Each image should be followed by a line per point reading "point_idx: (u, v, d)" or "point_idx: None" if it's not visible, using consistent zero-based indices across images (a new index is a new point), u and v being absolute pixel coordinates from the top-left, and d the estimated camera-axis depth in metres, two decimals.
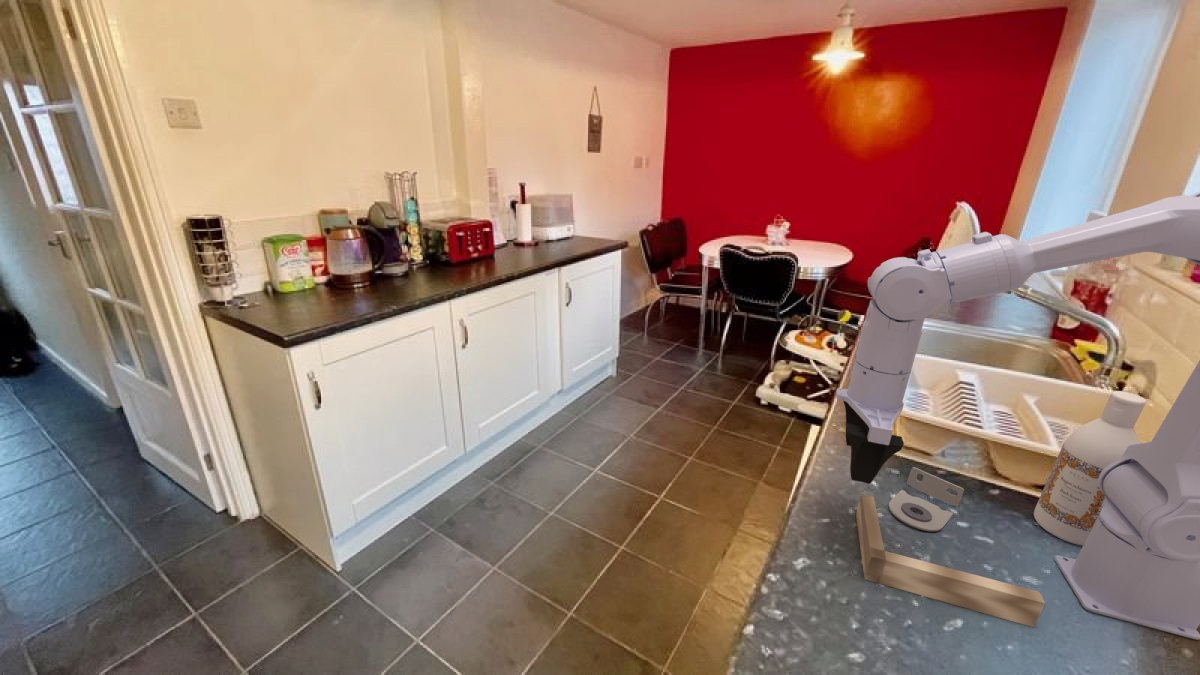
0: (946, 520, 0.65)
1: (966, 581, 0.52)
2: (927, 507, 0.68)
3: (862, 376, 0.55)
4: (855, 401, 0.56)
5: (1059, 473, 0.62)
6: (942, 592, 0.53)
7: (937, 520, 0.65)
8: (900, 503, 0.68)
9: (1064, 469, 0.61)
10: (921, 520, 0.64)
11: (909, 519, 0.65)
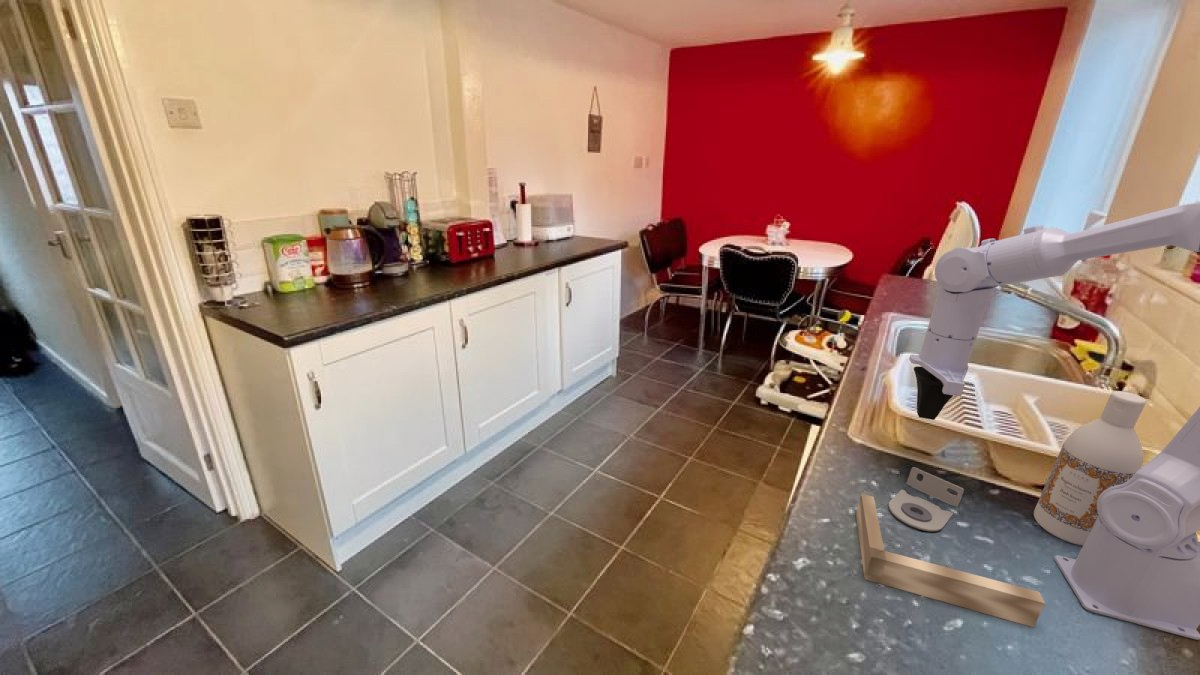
0: (946, 520, 0.65)
1: (966, 581, 0.52)
2: (927, 507, 0.68)
3: (936, 342, 0.67)
4: (928, 363, 0.68)
5: (1059, 473, 0.62)
6: (942, 592, 0.53)
7: (937, 520, 0.65)
8: (900, 503, 0.68)
9: (1064, 469, 0.61)
10: (921, 520, 0.64)
11: (909, 519, 0.65)
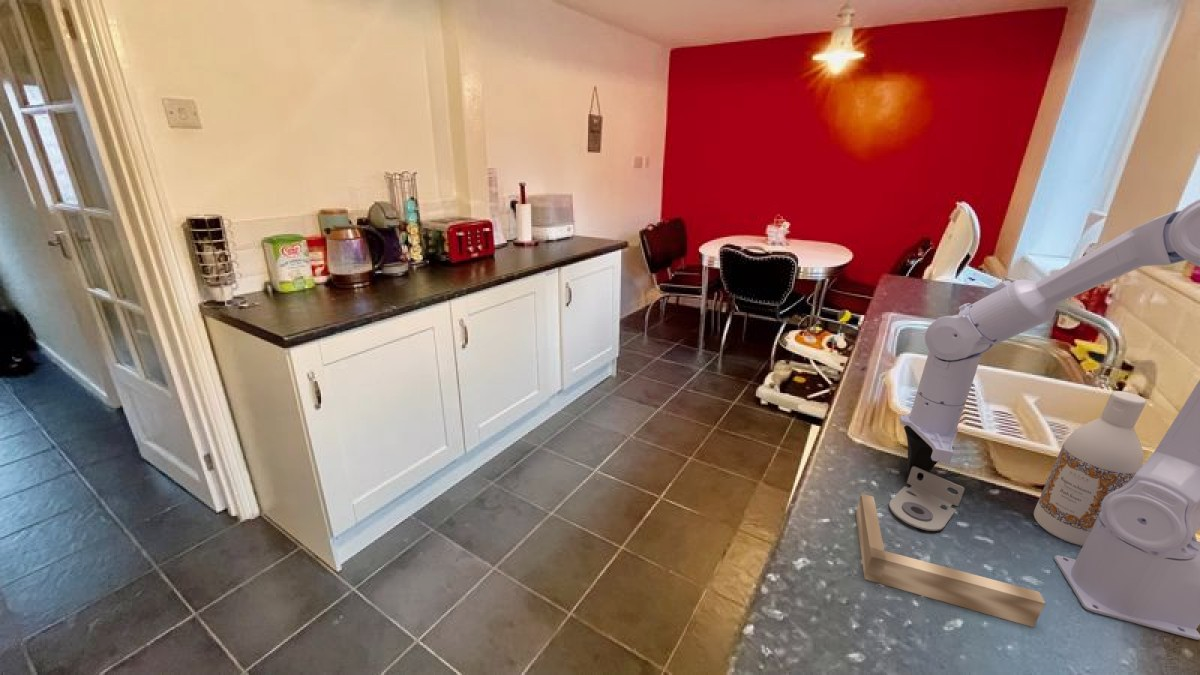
0: (947, 519, 0.65)
1: (966, 581, 0.52)
2: (928, 506, 0.67)
3: (925, 406, 0.67)
4: (918, 426, 0.68)
5: (1059, 473, 0.62)
6: (942, 592, 0.53)
7: (938, 519, 0.65)
8: (901, 502, 0.68)
9: (1064, 469, 0.61)
10: (922, 519, 0.64)
11: (910, 519, 0.65)
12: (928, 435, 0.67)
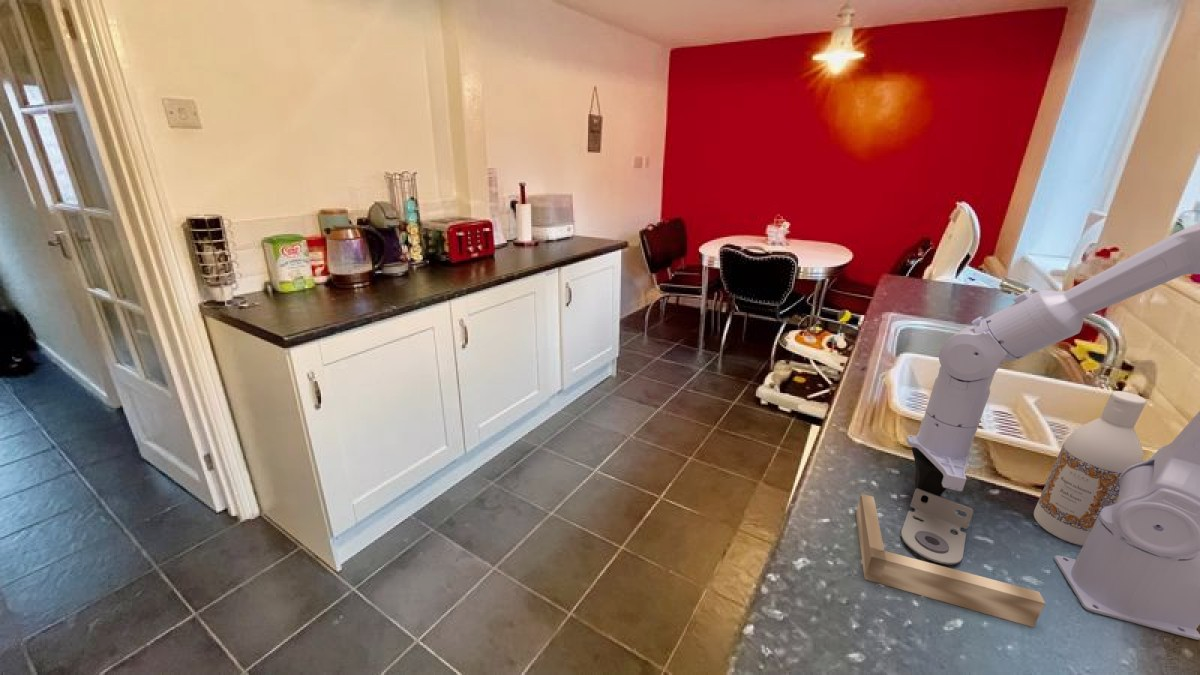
0: (962, 547, 0.60)
1: (966, 581, 0.52)
2: (939, 533, 0.63)
3: (935, 427, 0.62)
4: (927, 449, 0.63)
5: (1059, 473, 0.62)
6: (942, 592, 0.53)
7: (954, 549, 0.60)
8: (912, 532, 0.62)
9: (1064, 469, 0.61)
10: (940, 552, 0.59)
11: (928, 552, 0.59)
12: (938, 459, 0.62)
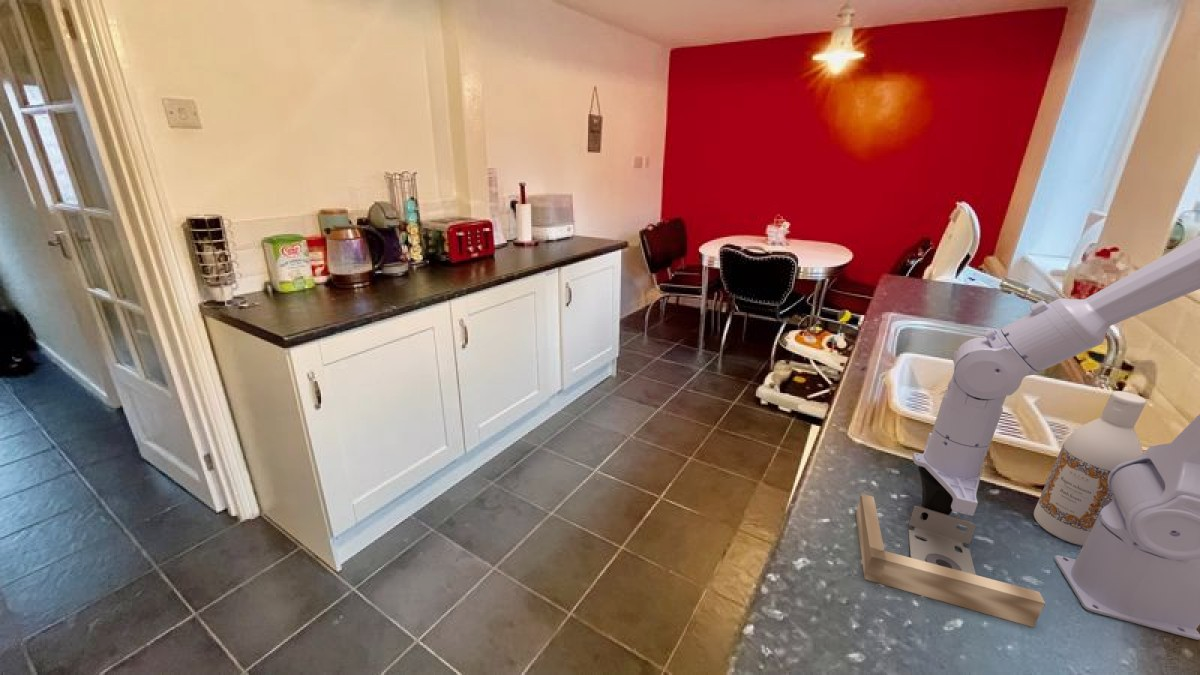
0: (972, 567, 0.57)
1: (966, 581, 0.52)
2: (946, 553, 0.59)
3: (943, 446, 0.58)
4: (934, 468, 0.59)
5: (1059, 473, 0.62)
6: (942, 592, 0.53)
7: (966, 570, 0.57)
8: (921, 556, 0.59)
9: (1064, 469, 0.61)
10: None
11: None
12: (947, 479, 0.58)
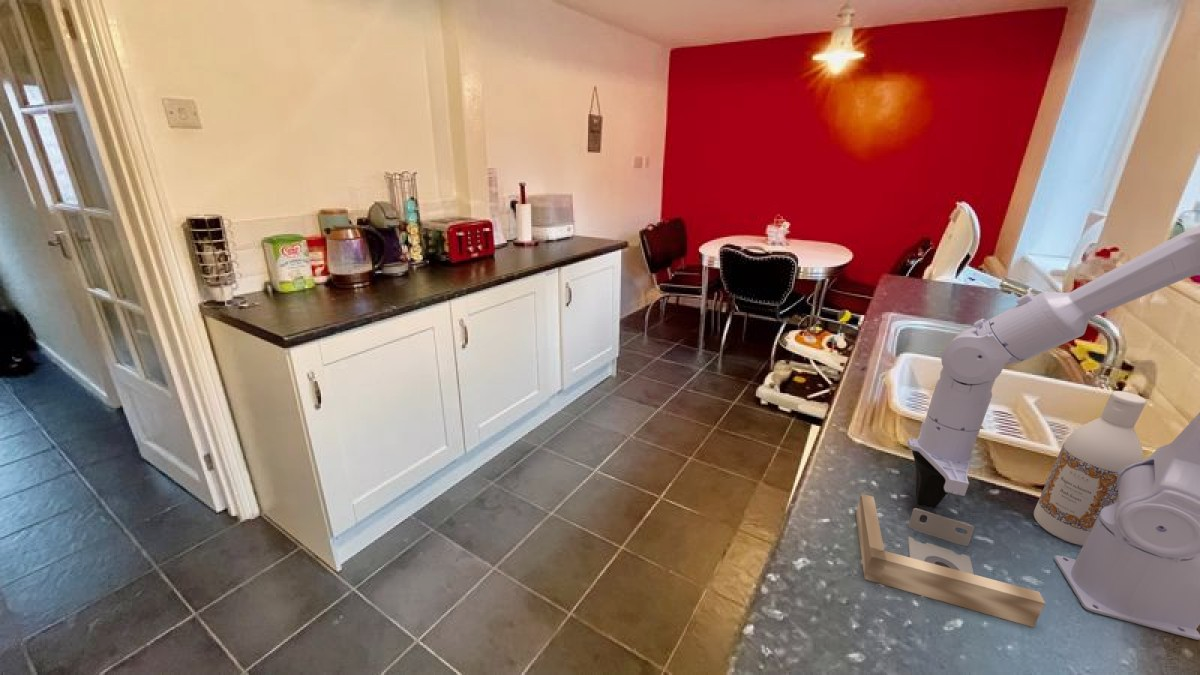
0: (971, 569, 0.58)
1: (966, 581, 0.52)
2: (945, 556, 0.60)
3: (936, 431, 0.61)
4: (928, 452, 0.63)
5: (1059, 473, 0.62)
6: (942, 592, 0.53)
7: None
8: (920, 559, 0.59)
9: (1064, 469, 0.61)
10: None
11: None
12: (940, 462, 0.61)
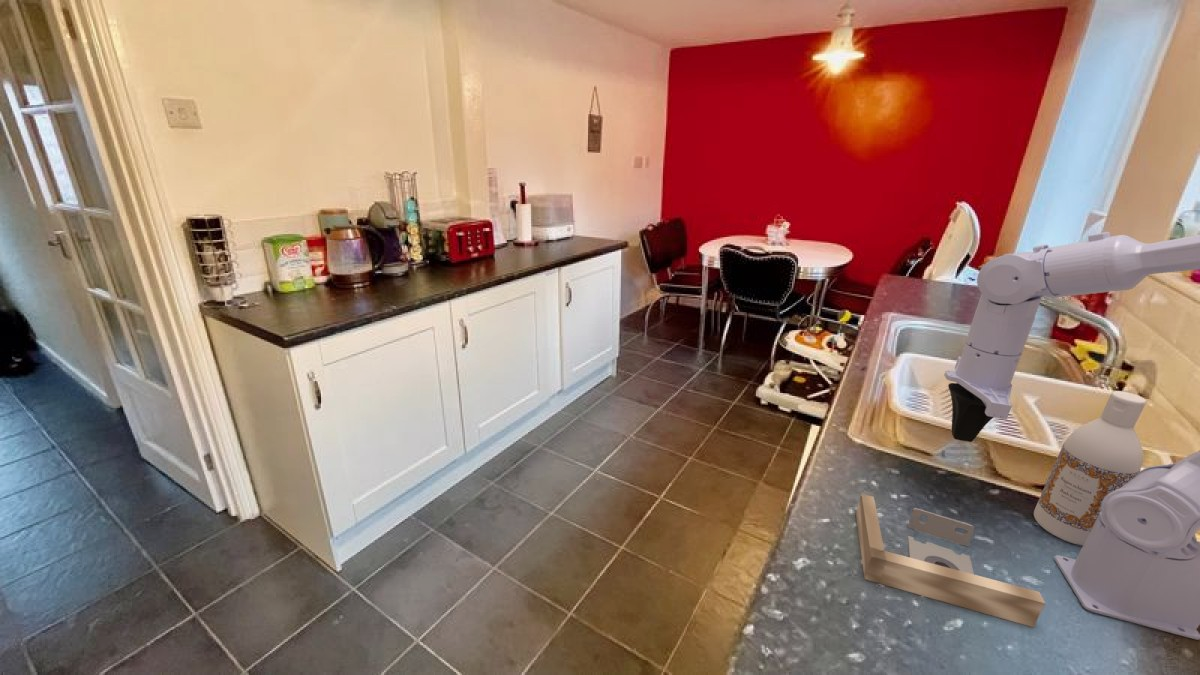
0: (971, 569, 0.58)
1: (966, 581, 0.52)
2: (945, 555, 0.60)
3: (976, 358, 0.61)
4: (967, 381, 0.62)
5: (1059, 473, 0.62)
6: (942, 592, 0.53)
7: None
8: (920, 559, 0.59)
9: (1065, 469, 0.61)
10: None
11: None
12: (979, 390, 0.61)
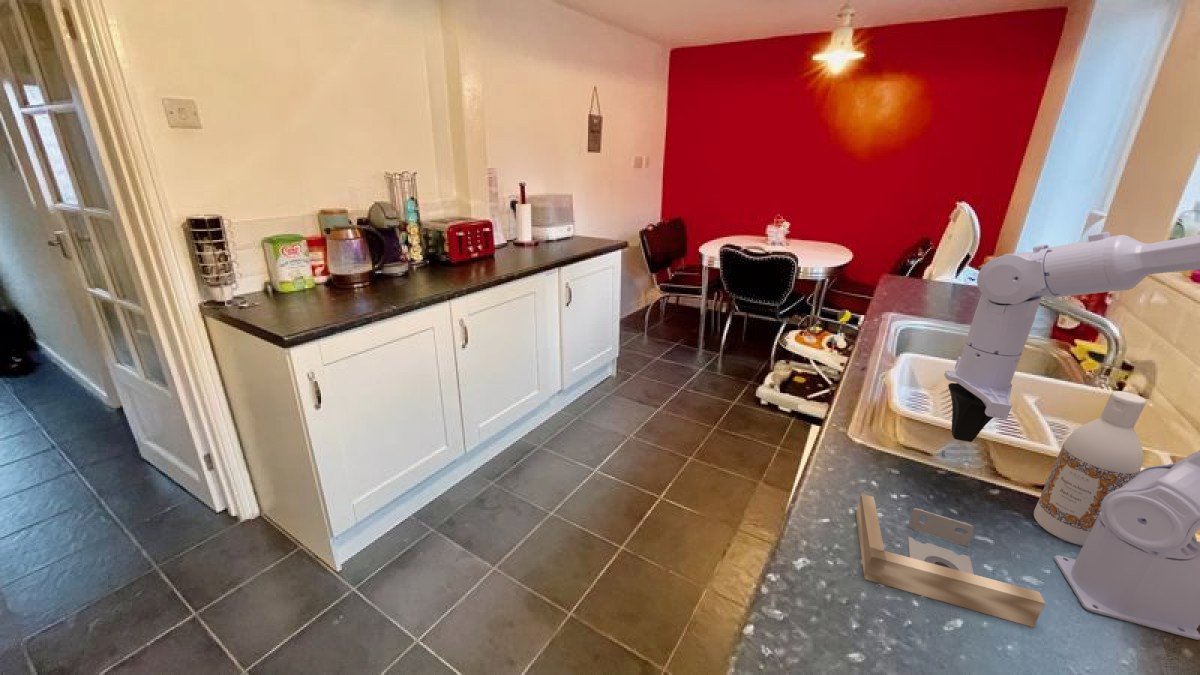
0: (971, 569, 0.58)
1: (966, 581, 0.52)
2: (944, 556, 0.60)
3: (976, 358, 0.61)
4: (967, 381, 0.62)
5: (1059, 473, 0.62)
6: (942, 592, 0.53)
7: None
8: (920, 559, 0.59)
9: (1064, 469, 0.61)
10: None
11: None
12: (979, 390, 0.61)
